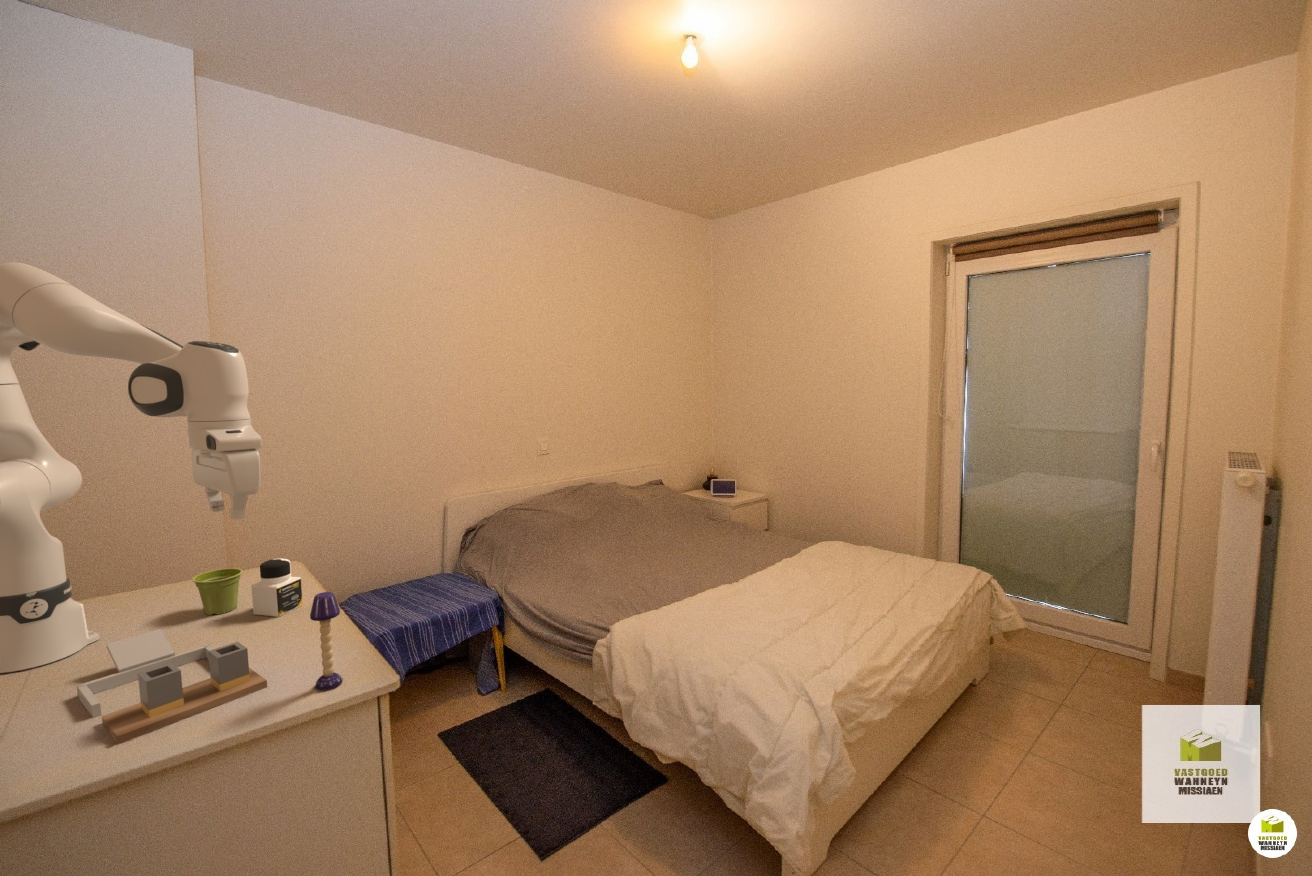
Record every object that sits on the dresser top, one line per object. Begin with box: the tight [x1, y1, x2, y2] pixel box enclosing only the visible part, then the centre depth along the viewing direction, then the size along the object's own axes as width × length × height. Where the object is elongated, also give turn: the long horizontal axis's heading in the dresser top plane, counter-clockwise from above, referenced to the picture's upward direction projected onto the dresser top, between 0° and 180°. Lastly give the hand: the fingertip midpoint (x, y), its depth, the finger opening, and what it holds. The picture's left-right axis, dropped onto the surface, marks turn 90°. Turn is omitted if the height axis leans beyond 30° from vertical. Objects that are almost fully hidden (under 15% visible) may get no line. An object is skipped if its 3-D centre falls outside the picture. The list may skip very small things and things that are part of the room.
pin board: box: [101, 667, 268, 745], centre depth 98 cm, size 9×20×6 cm, turn 144°
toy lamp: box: [309, 591, 343, 692], centre depth 104 cm, size 5×5×17 cm
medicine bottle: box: [251, 558, 303, 618], centre depth 137 cm, size 7×7×12 cm
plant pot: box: [192, 567, 243, 615], centre depth 137 cm, size 9×9×9 cm
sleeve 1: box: [137, 663, 184, 717], centre depth 95 cm, size 4×4×6 cm
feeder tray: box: [76, 628, 216, 718], centre depth 107 cm, size 18×19×5 cm
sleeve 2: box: [208, 641, 250, 691], centre depth 103 cm, size 4×4×6 cm
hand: (227, 514), depth 102 cm, fingers open, 8 cm apart
